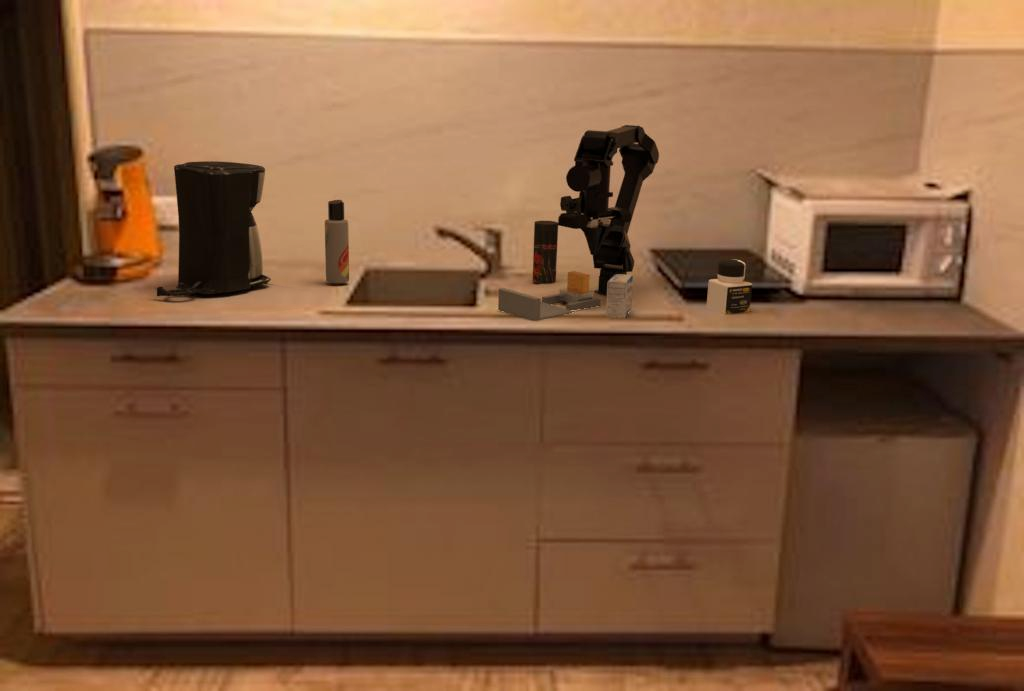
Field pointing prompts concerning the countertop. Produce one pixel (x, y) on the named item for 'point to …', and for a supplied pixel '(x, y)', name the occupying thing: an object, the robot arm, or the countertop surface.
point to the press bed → (538, 305)
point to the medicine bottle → (729, 289)
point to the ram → (576, 288)
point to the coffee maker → (218, 227)
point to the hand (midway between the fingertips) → (593, 254)
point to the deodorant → (545, 251)
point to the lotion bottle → (336, 244)
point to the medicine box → (619, 295)
